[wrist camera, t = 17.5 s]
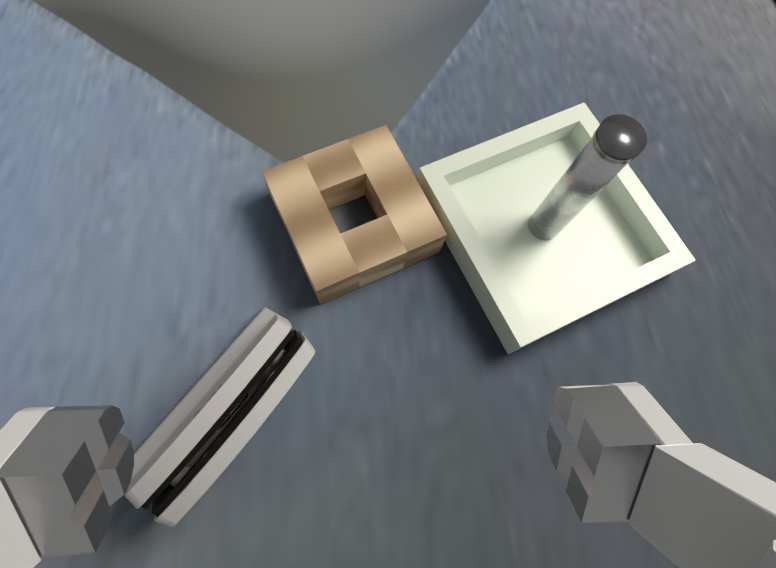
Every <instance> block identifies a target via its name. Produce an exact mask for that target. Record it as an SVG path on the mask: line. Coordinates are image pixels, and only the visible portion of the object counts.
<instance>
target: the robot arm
mask: <svg viewBox="0 0 776 568" xmlns="http://www.w3.org/2000/svg"><path fill="white" fill-rule="evenodd" d="M553 405H554V406H555V408H556V410H557V412H558V413H557V414H556V415H555V416H554V417H553V418H552V419H551V420H550V421H549V425H548V431H547V442H548V450H549V454H550V457H551V461H552V463H553V465H554V467H555V469H556V471H557V472H558V473H560V474H561V475H562V476H564V477H565V478H567V479H568V485H567V489H566V492H567V494H568V496H569V498H570V500H571V502H572V504H573V506H574V508H575V510H576V512H577V514H578V516H579V518H580V520H581V523H585V522H616V521H629V522H628V524H629V525H630V526H631V527H633V528H634V529H635V530H636V531H637V532H638V533H640V534H641V535H642V536H643V537H644V538H645V539H646V540H648V541H649V542H650V543H651V544H652V545H653V546H655V547H656V548H657V549H658V550H659V551H660V552H661V553H663V554H664V555H665V556H666V557H667V558H668V559H669V560H671V561H672V562H673V563H674V564H675V565H676V566H678V567H679V568H776V483H775V482H773V481H771V480H770V479H768V478H766V477H764V476H762V475H760V474H758V473H756V472H755V471H753V470H751V469H749V468H747V467H745V466H743V465H741V464H739V463H738V462H736V461H734V460H732V459H730V458H728V457H726V456H724V455H723V454H721V453H719V452H717V451H715V450H713V449H711V448H709V447H707V446H706V445H704V444H702V443H697V444H693V443H692V442H691V441H690V439H689V438H688V437H687V436H686V435H685V434H684V433H683V431H682V430H681V429H680V428H679V427H678V426H677V424H676V423H675V422H674V421H673V420H672V419H671V417H670V416H669V415H668V414H667V413H666V412H665V411H664V409H663V408H662V407H661V406H660V405H659V404H658V402H657V401H656V400H655V399H654V398H653V397H652V396H651V394H650V393H649V392H648V391H647V390H646V389H645V387H644V386H642V385H641V384H639V383H637V382H630V383H615V384H610V385H588V386H567V387H559V388H558V389H557V391H556V393H555V396H554V401H553ZM124 423H125V422H124V420H123V417H122V414H121V412H120V409H119V408H117V407H115V406H63V407H38V408H25V409H23V410H21V411H18V412H17V413H16V414H15V415H14V416H13V417H12V418H11V419H10V421H9V422H8V423H7V424H6V425H5V426H4V427H3V428H2V429H1V430H0V568H33V567H34V566H36V565H37V564H38V563H39V562H40V561H41V559H40V558H42V557H53V556H64V555H75V554H86V553H95V552H96V550H97V548H98V546H99V544H100V542H101V540H102V538H103V536H104V534H105V532H106V530H107V528H108V526H109V524H110V522H111V520H112V518H113V515H112V512H111V509H110V505H112V504H113V503H114V502H115V501H117V500H118V499H119V498H121V497H122V496H123V495H124V494H125V492H126V490H127V488H128V486H129V483H130V481H131V478H132V473H133V468H134V451H133V448H132V444H131V441H130V440H129V439H127V438H126V437H125V436H123V435H122V434H121V433H119V431H120V429H121V428H122V426H123V424H124Z"/></svg>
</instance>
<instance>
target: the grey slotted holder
mask: <svg viewBox="0 0 776 568" xmlns="http://www.w3.org/2000/svg"><path fill="white" fill-rule="evenodd" d="M314 354H315V350H314V348H313V347H312V345H311V344H310V342H309V341H308V339H307V338H306V337H305V336H304V334H303V333H302V332H301V330H300V331H299V332H297V331H296V330H294V331H293V330H292V327H291V324H290V322H289V320H287V319H285V318H283V317H282V316H280V315H278V314H276V313H275V312H273V311H271V310H269V309H268V308H266V307H264V308H263V309H262V310H261V311H260V312H259V313H258V315H257V316H256V317H255V318H254V319H253V320H252V321H251V322H250V324H249V325H248V326H247V327H246V328H245V329H244V330H243V331H242V333H241V334H240V335H239V336H238V337H237V338H236V339H235V340H234V342H233V343H232V344H231V345H230V346H229V347H228V348H227V349H226V351H225V352H224V353H223V354H222V355H221V356H220V357H219V358H218V360H217V361H216V362H215V363H214V364H213V365H212V366H211V368H210V369H209V370H208V371H207V372H206V373H205V374H204V375H203V377H202V378H201V379H200V380H199V381H198V382H197V383H196V384H195V386H194V387H193V388H192V389H191V390H190V391H189V392H188V393H187V395H186V396H185V397H184V398H183V399H182V400H181V401H180V402H179V404H178V405H177V406H176V407H175V408H174V409H173V410H172V411H171V413H170V414H169V415H168V416H167V417H166V418H165V419H164V420H163V422H162V423H161V424H160V425H159V426H158V427H157V428H156V430H155V431H154V432H153V433H152V434H151V435H150V436H149V437H148V439H147V440H146V441H145V442H144V443H143V444H142V445H141V446H140V448H139V449H138V450H137V451H136V452H135V453H134V468H133V473H132V478H131V481H130V484H129V487H128V489H127V491H126V493H125V497H126V498H127V499H128V500H129V501H130V502H131V503H132V504H133V505H134V507H135V508H136V509H138V508H140V507H141V506H142V507H143V508H145V509H147V508H148V507H149V506H150V505H151V504H152V503H153V508H152V514H154V515H155V516H154V521H155V522H158V523H161V524H163V525H166V526H169V527H173V526H175V525H176V524H177V523H178V521H179V520H180V519H181V518H182V517H183V516H184V515H185V514H186V513H187V512H188V511H189V510H190V509H191V507H192V506H193V505H194V504H195V503H196V502H197V501H198V500H199V499H200V497H201V496H202V495H203V494H204V493H205V492H206V491H207V489H208V488H209V487H210V486H211V485H212V484H213V483H214V481H215V480H216V479H217V478H218V477H219V476H220V475H221V473H222V472H223V471H224V470H225V469H226V468H227V466H228V465H229V464H230V463H231V462H232V460H233V459H234V458H235V457H236V456H237V454H238V453H239V452H240V451H241V450H242V448H243V447H244V446H245V445H246V443H247V442H248V441H249V440H250V439H251V437H252V436H253V435H254V434H255V432H256V431H257V430H258V429H259V427H260V426H261V425H262V424H263V423H264V421H265V420H266V419H267V417H268V416H269V415H270V413H271V412H272V411H273V410H274V408H275V407H276V406H277V404H278V403H279V402H280V401H281V399H282V398H283V397H284V395H285V394H286V393H287V391H288V390H289V389H290V387H291V386H292V385H293V383H294V382H295V381H296V379H297V378H298V377H299V375H300V374H301V372H302V371H303V370H304V368H305V367H306V366H307V364H308V363H309V361H310V360H311V359H312V357H313V356H314ZM247 393H248V396H247V398H246V400H245V401H244V402H243V403H242V404H241V405H240V407H239V408H238V409H237V410H236V411H235V413H234V414H233V415H232V416H231V417H230V418H229V420H228V421H227V422H226V423H225V424H224V426H222V427H221V428H219V427H220V426H221V425H222V423H223V422H224V421H225V420H226V419H227V417H228V416H229V415H230V414H231V413H232V412H233V410H234V409H235V408H236V407H237V406H238V404H239V403H240V402H241V401H242V399H243V398H244V397H245V396H246V395H247ZM218 428H219V429H218Z"/></svg>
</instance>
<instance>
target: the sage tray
mask: <svg viewBox="0 0 776 568" xmlns="http://www.w3.org/2000/svg"><path fill="white" fill-rule="evenodd" d="M599 125H600V124H599V123H598V121H597V120H596V118H595V117H594V115H593V114H592V113H591V111H590V110H589V108H588V107H587V106H586V104H585V103H582V104H579V105H577V106H574V107H572V108H569V109H567V110H564V111H562V112H559V113H557V114H554V115H552V116H549V117H547V118H544V119H542V120H539V121H537V122H534V123H532V124H529V125H526V126H524V127H521V128H519V129H516V130H514V131H511V132H509V133H506V134H504V135H501V136H499V137H496V138H494V139H491V140H489V141H486V142H484V143H481V144H479V145H476V146H474V147H471V148H469V149H466V150H463V151H461V152H458V153H456V154H453V155H451V156H448V157H446V158H443V159H441V160H438V161H436V162H433V163H431V164H428V165H426V166H423V167H421V168H420V169H419V174H418V178H417V181H418V183H419V185H420V187H421V189H422V190H423V192H424V194H425V196H426V198H427V199H428V201H429V203H430V205H431V207H432V208H433V210H434V212H435V214H436V216H437V217H438V219H439V221H440V223H441V225H442V226H443V228H444V230H445V232H446V234H447V236H446V239H445V242H446V244H447V245H448V247H449V249H450V251H451V253H452V254H453V256H454V258H455V260H456V262H457V263H458V265H459V267H460V269H461V271H462V272H463V274H464V276H465V278H466V280H467V282H468V283H469V285H470V287H471V289H472V291H473V292H474V294H475V296H476V298H477V300H478V301H479V303H480V305H481V307H482V309H483V310H484V312H485V314H486V316H487V318H488V319H489V321H490V323H491V325H492V327H493V329H494V330H495V332H496V334H497V336H498V338H499V339H500V341H501V343H502V345H503V347H504V348H505V350H506V352H507V354H510V353H512V352H514V351H516V350H518V349H520V348H522V347H524V346H526V345H528V344H530V343H532V342H535V341H537V340H539V339H541V338H543V337H545V336H547V335H549V334H551V333H553V332H555V331H557V330H559V329H561V328H563V327H565V326H567V325H569V324H571V323H573V322H575V321H577V320H579V319H581V318H583V317H585V316H587V315H589V314H591V313H593V312H595V311H597V310H599V309H601V308H603V307H605V306H607V305H609V304H611V303H613V302H615V301H617V300H619V299H621V298H623V297H625V296H627V295H629V294H631V293H633V292H635V291H637V290H639V289H641V288H643V287H645V286H647V285H649V284H651V283H653V282H655V281H657V280H659V279H661V278H663V277H665V276H667V275H669V274H671V273H673V272H675V271H677V270H679V269H681V268H682V267H684V266H686V265H688V264H690V263H692V262H694V261H695V259H694V257H693V256H692V254H691V253H690V251H689V250H688V249H687V247H686V246H685V244H684V243H683V242H682V240H681V239H680V237H679V236H678V234H677V233H676V232H675V230H674V229H673V227H672V226H671V225H670V223H669V222H668V220H667V219H666V217H665V216H664V215H663V213H662V212H661V210H660V209H659V208H658V206H657V205H656V203H655V202H654V200H653V199H652V198H651V196H650V195H649V193H648V192H647V191H646V189H645V188H644V186H643V185H642V183H641V182H640V181H639V179H638V178H637V176H636V175H635V174H634V172H633V171H632V169H631V168H630V166H629V165H628V164H627V165H626V166H625V167H624V168H623V169H622V170H621V171H620V172H619V173H618V174H617V175H616V176H615V177H614V178H613V179H612V180H611V181H610V182H609V183H608V184H607V185H606V186H605V187H604V188H603V189H602V190H601V191H600V192H599V193H598V194H597V195H596V196H595V197H594V198H593V199H592V200H591V201H590V202H589V203H588V204H587V205H586V206H585V208H584V209H583V210H582V211H581V212H580V213H579V214H578V215H577V216H576V217H575V218H574V219H573V220H572V221H571V222H570V223H569V224H568V225H567V226H566V227H565V228H564V229H563V230H562V231H561V232H560V233H559V234H558V235H557V236H556V237H555V238H554V239H551V240H547V241H546V240H540V239H538V238H536V237H535V236H533V235H532V233H531V232H530V230H529V227H528V221H529V218H530V217H531V215H532V214H533V213H534V211H535V210H536V209H537V208H538V206H539V205H540V204H541V202H542V201H543V200H544V199H545V197H546V196H547V195H548V193H549V192H550V191H551V190H552V188H553V187H554V186H555V184H556V183H557V182H558V181H559V179H560V178H561V177H562V175H563V174H564V173H565V172H566V170H567V169H568V168H569V166H570V165H571V164H572V163H573V161H574V160H575V159H576V157H577V156H578V155H579V154H580V152H581V151H582V150H583V148H584V147H585V146H586V145H587V143H588V142H589V141H590V139H591V138H592V137H593V134H594V132H595V131H596V129H597V128H598V127H599Z"/></svg>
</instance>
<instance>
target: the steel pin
mask: <svg viewBox="0 0 776 568" xmlns="http://www.w3.org/2000/svg"><path fill="white" fill-rule="evenodd" d="M646 143H647V135H646V132H645V130H644V128H643V127H642V126H641V124H640V123H639V122H637V121H636V120H635V119H633V118H631V117H629V116H626V115H612V116H609V117H607V118H606V119H604V120H603V122H602V123H601V124H600V125H599V127H598V128H597V129H596V131H595V132H594V134H593V137H592V138H591V139H590V141H589V142H588V143H587V145H586V146H585V147H584V148H583V150H582V151H581V152H580V154H579V155H578V156H577V157H576V159H575V160H574V161H573V163H572V164H571V165H570V166H569V168H568V169H567V170H566V172H565V173H564V174H563V175H562V177H561V178H560V179H559V181H558V182H557V183H556V184H555V186H554V187H553V188H552V190H551V191H550V192H549V193H548V195H547V196H546V197H545V199H544V200H543V201H542V202H541V204H540V205H539V206H538V208H537V209H536V210H535V211H534V213H533V214H532V215H531V217H530V218H529V221H528V227H529V230H530V232H531V233H532V235H533V236H535V237H536V238H538V239H540V240H546V241H547V240H551V239H554V238H555V237H556V236H557V235H558V234H559V233H560V232H561V231H562V230H563V229H564V228H565V227H566V226H567V225H568V224H569V223H570V222H571V221H572V220H573V219H574V218H575V217H576V216H577V215H578V214H579V213H580V212H581V211H582V210H583V209H584V208H585V206H586V205H587V204H588V203H589V202H590V201H591V200H592V199H593V198H594V197H595V196H596V195H597V194H598V193H599V192H600V191H601V190H602V189H603V188H604V187H605V186H606V185H607V184H608V183H609V182H610V181H611V180H612V179H613V178H614V177H615V176H616V175H617V174H618V173H619V172H620V171H621V170H622V169H623V168H624V167H625V166H626V165H627V164H628V163H629V162H631V161H632V160H634V159H635V158H636V157H637V156H638V155H639V154H640V153H641V152H642V151H643V149H644V148H645V146H646Z"/></svg>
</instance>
